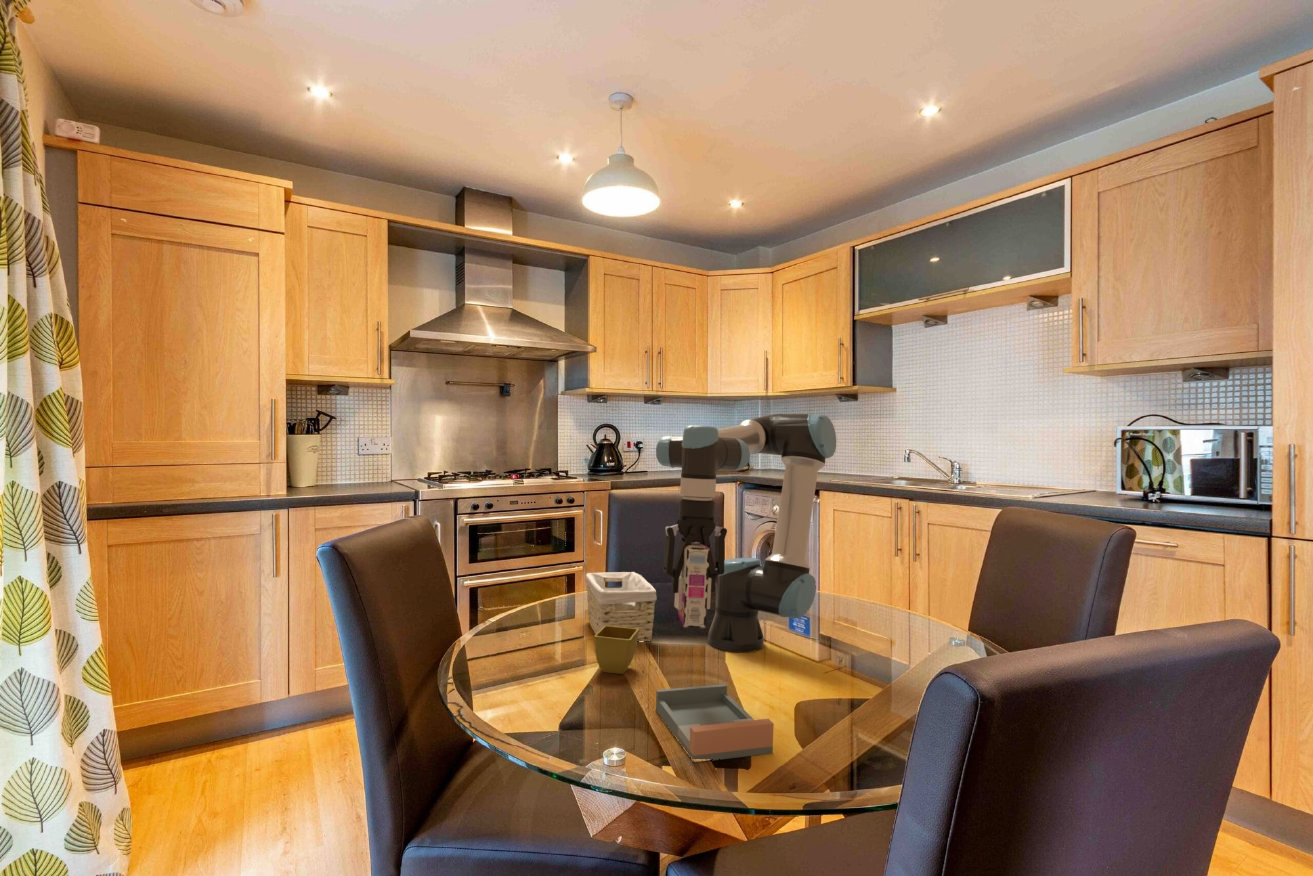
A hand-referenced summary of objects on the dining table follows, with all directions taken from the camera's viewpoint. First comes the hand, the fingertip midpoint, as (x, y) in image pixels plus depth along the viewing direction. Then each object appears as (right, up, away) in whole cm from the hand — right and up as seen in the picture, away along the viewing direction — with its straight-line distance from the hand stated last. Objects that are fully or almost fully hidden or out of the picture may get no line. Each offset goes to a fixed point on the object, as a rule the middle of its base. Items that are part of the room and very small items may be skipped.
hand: (692, 607), depth 133 cm
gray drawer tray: (+3, -19, -14) cm, 24 cm away
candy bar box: (0, -3, 0) cm, 3 cm away
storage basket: (-19, -19, +45) cm, 52 cm away
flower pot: (-17, -19, +15) cm, 30 cm away
